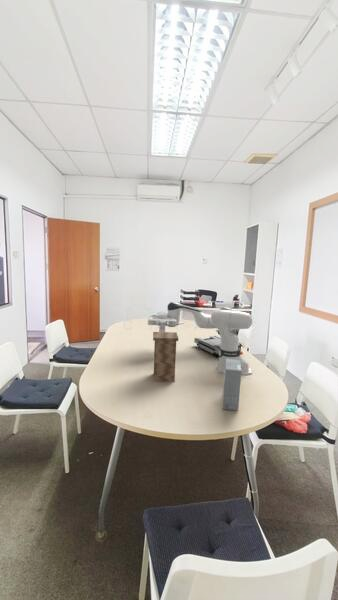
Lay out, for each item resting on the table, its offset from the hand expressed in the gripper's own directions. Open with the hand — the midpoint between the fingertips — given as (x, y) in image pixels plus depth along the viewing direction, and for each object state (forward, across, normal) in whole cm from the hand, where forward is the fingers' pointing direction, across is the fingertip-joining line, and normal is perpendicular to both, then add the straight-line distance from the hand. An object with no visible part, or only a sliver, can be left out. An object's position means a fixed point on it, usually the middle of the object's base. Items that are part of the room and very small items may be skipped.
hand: (162, 324), depth 190 cm
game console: (-25, -44, -26) cm, 57 cm away
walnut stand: (+28, -1, -26) cm, 38 cm away
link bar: (-6, 0, -8) cm, 10 cm away
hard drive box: (+56, -33, -26) cm, 70 cm away
